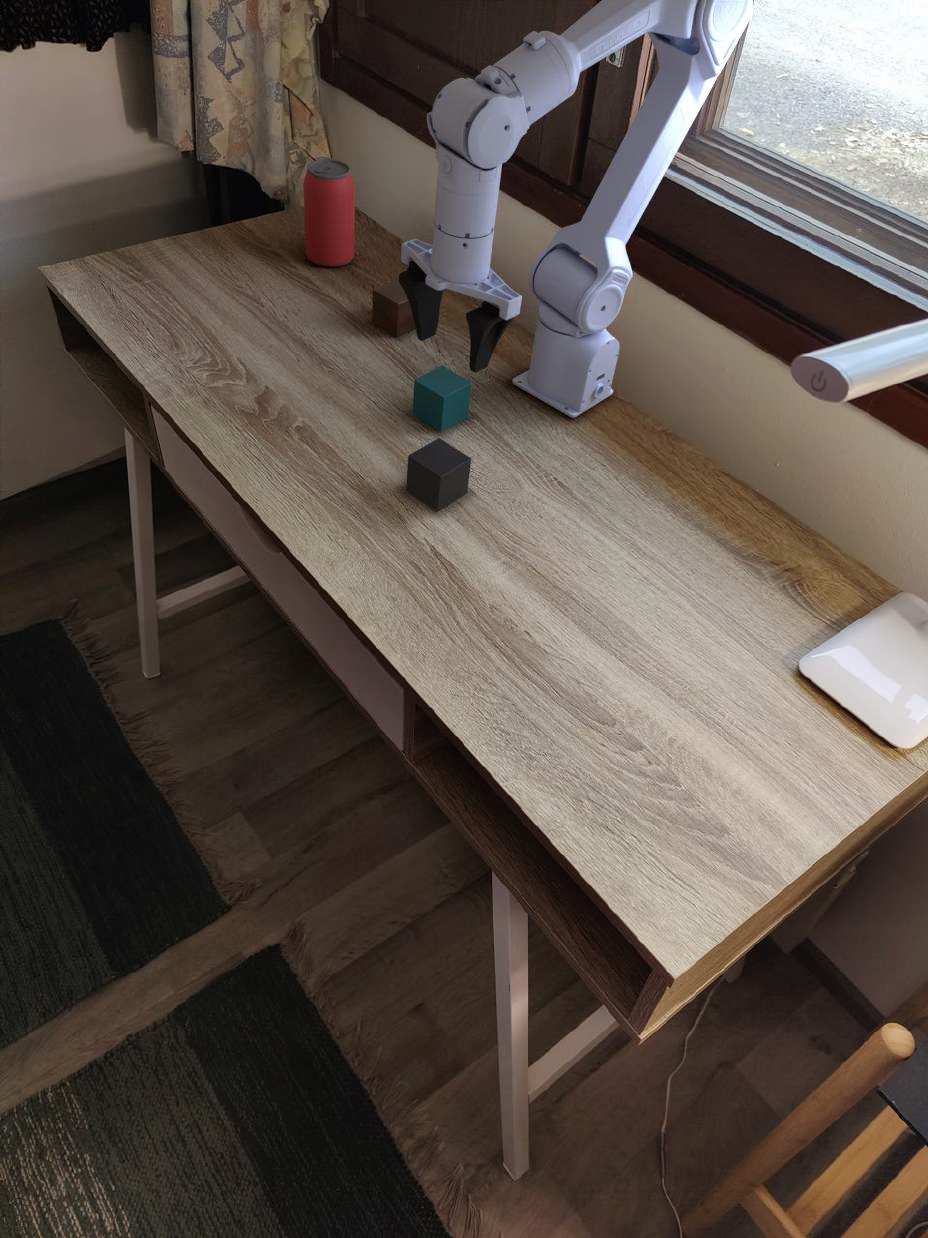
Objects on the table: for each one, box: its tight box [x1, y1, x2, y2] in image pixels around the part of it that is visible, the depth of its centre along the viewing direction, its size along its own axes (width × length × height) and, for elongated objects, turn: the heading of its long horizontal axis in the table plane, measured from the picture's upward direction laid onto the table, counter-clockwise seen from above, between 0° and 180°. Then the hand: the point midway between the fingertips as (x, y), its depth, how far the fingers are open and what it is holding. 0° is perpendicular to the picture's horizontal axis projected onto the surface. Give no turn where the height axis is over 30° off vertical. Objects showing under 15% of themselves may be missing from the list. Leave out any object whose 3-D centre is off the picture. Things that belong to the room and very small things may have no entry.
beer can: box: [302, 158, 356, 268], centre depth 126 cm, size 7×7×12 cm
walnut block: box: [371, 277, 416, 338], centre depth 118 cm, size 4×4×4 cm
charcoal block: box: [405, 437, 472, 513], centre depth 96 cm, size 4×4×4 cm
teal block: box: [411, 365, 473, 433], centre depth 106 cm, size 4×4×4 cm
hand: (452, 352), depth 100 cm, fingers open, 7 cm apart
